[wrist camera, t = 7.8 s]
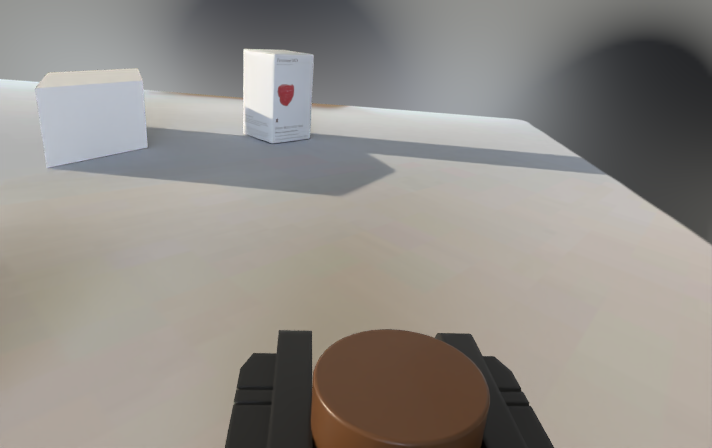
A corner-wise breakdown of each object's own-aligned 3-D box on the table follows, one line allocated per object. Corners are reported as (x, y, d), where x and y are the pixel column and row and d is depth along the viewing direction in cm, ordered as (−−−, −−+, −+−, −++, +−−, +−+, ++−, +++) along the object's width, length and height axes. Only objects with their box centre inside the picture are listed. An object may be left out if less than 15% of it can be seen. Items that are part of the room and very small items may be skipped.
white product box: (272, 144, 90) (273, 53, 84) (241, 134, 95) (241, 48, 90) (311, 139, 96) (315, 53, 90) (281, 129, 102) (283, 48, 96)
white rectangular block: (181, 129, 96) (178, 71, 92) (101, 172, 69) (92, 93, 65) (103, 122, 96) (97, 64, 92) (-8, 163, 69) (-23, 83, 65)
